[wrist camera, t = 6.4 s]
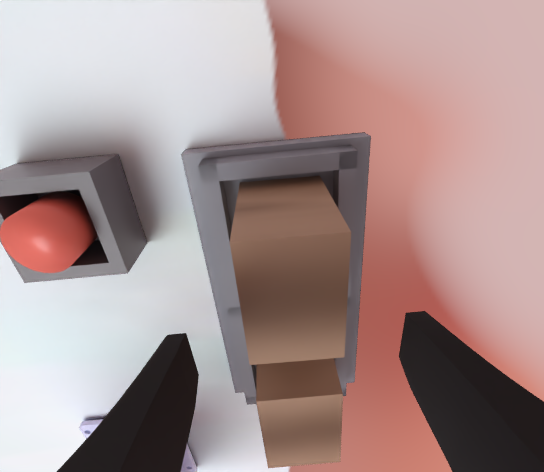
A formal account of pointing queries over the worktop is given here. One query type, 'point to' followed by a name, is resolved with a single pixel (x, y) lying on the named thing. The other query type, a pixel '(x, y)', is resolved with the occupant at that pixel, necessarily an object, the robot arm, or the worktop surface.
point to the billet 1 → (291, 270)
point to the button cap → (49, 232)
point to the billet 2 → (300, 412)
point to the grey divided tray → (220, 213)
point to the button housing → (99, 202)
